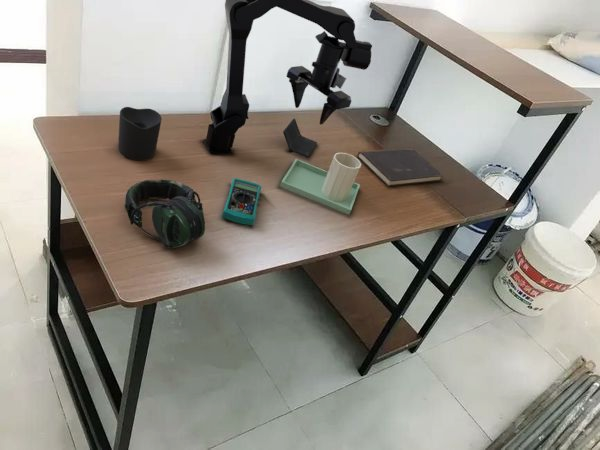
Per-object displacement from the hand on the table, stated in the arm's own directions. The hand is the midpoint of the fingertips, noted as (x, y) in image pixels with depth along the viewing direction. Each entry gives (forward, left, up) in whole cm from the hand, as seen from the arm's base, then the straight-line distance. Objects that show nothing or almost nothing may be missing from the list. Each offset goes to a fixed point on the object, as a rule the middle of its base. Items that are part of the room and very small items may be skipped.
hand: (308, 115), depth 141 cm
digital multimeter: (-26, -20, -13) cm, 35 cm away
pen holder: (-44, +4, -13) cm, 46 cm away
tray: (-1, -16, -13) cm, 21 cm away
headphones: (-46, -24, -13) cm, 54 cm away
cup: (+2, -19, -13) cm, 23 cm away
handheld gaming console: (+4, +5, -13) cm, 15 cm away
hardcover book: (+34, -9, -13) cm, 37 cm away
